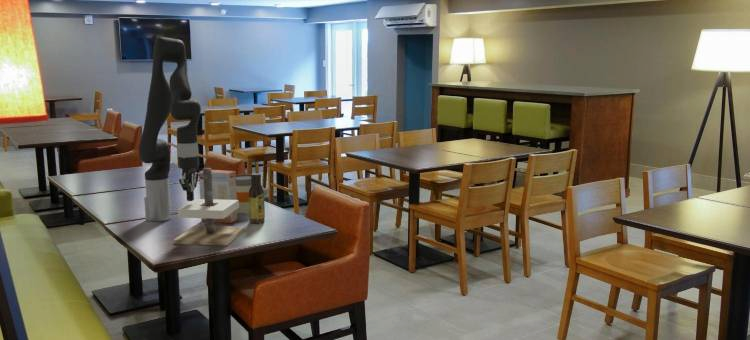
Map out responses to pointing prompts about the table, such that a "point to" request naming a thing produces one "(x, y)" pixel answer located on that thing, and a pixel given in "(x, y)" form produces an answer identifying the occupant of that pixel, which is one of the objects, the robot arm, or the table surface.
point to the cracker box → (221, 190)
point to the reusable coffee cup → (243, 192)
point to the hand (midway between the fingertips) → (190, 200)
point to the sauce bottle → (256, 200)
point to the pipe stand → (209, 224)
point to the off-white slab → (208, 209)
